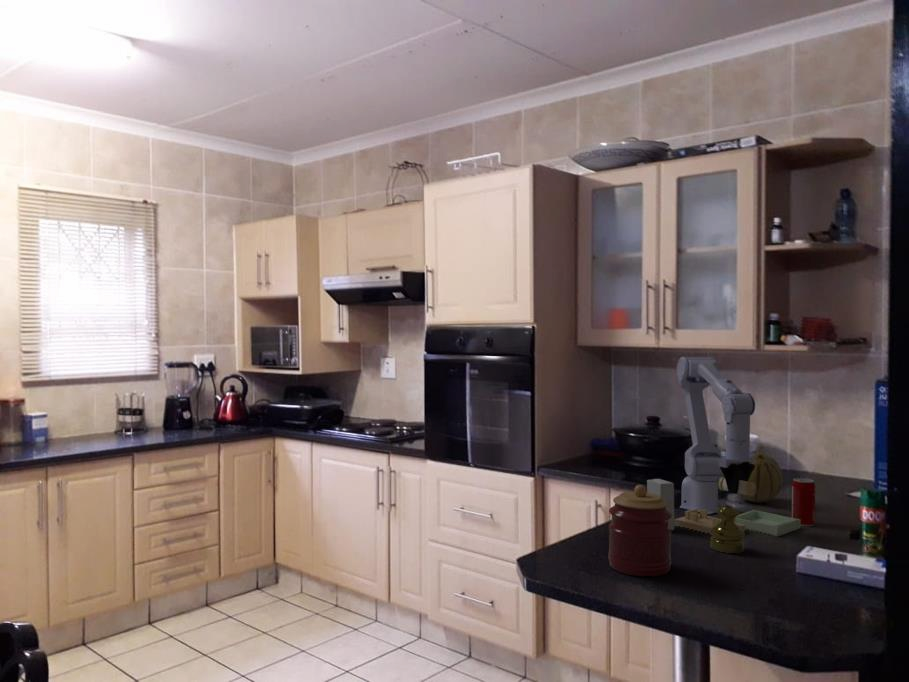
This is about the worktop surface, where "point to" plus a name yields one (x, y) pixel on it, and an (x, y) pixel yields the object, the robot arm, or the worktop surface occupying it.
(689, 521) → the fuse holder
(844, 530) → the worktop surface
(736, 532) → the gold tiered figurine
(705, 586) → the worktop surface
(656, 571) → the canister
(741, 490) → the fuse
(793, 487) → the soda can
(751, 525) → the parts tray
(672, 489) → the skincare box
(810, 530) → the worktop surface
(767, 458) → the ribbed pale melon
